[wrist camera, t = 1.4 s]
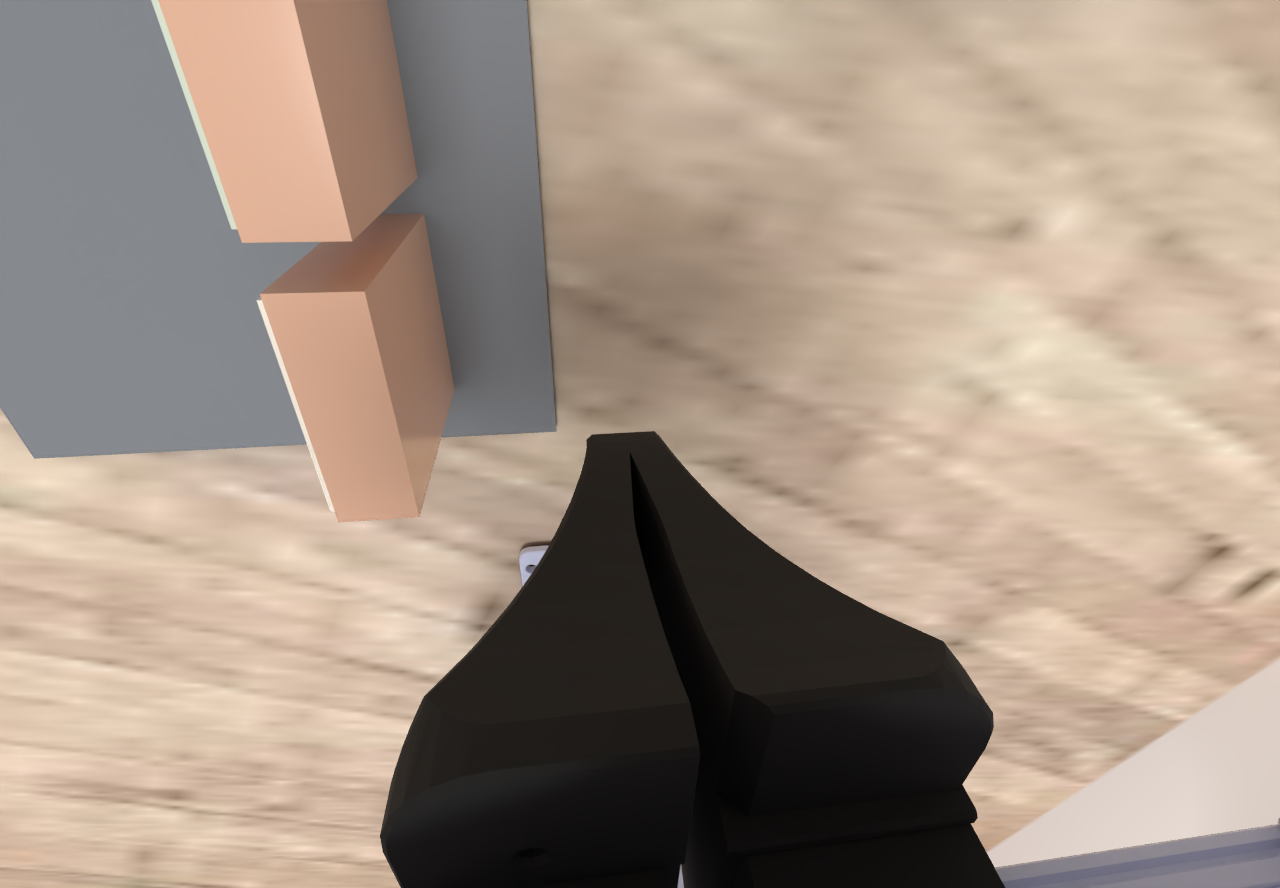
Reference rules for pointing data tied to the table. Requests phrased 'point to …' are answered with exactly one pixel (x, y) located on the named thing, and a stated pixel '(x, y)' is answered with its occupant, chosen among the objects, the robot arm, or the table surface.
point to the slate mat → (213, 252)
